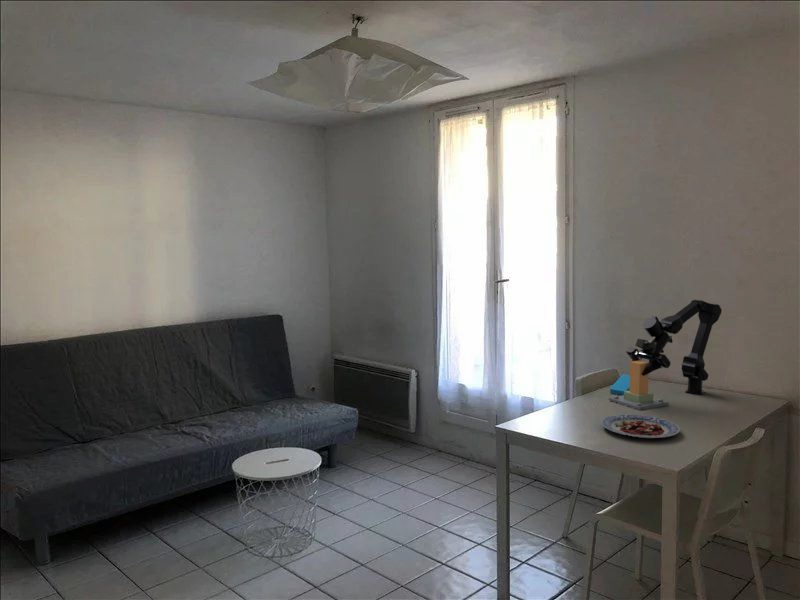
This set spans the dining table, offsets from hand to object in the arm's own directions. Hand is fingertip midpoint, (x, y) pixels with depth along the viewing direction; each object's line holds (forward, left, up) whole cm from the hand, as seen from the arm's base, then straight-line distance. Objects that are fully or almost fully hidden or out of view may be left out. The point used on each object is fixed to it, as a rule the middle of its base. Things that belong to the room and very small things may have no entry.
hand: (636, 373), depth 260 cm
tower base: (-1, +1, -12) cm, 12 cm away
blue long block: (-18, -10, -13) cm, 24 cm away
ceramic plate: (+35, +12, -13) cm, 39 cm away
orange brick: (-1, +1, -8) cm, 8 cm away
